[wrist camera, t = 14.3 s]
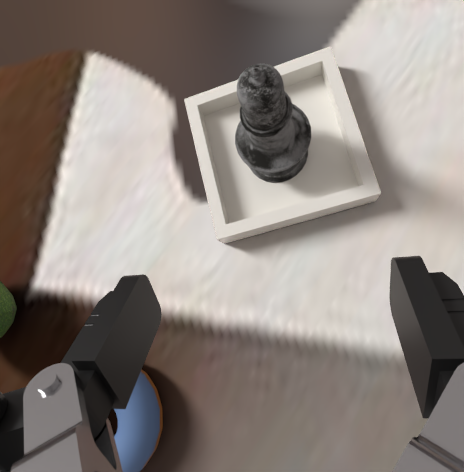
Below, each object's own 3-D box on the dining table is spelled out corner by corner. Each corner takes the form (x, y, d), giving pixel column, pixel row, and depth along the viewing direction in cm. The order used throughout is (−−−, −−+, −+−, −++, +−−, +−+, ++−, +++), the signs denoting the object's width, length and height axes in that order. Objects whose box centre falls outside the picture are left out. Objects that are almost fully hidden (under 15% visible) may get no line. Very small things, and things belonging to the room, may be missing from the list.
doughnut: (180, 366, 30) (151, 380, 26) (160, 488, 30) (127, 523, 25) (86, 339, 34) (47, 348, 29) (66, 449, 33) (23, 474, 29)
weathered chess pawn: (305, 114, 31) (300, 6, 19) (317, 178, 30) (319, 104, 18) (239, 130, 32) (196, 36, 20) (248, 192, 31) (209, 130, 19)
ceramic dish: (329, 64, 32) (330, 46, 29) (375, 201, 29) (381, 193, 27) (193, 113, 34) (184, 99, 32) (224, 243, 31) (216, 239, 29)
